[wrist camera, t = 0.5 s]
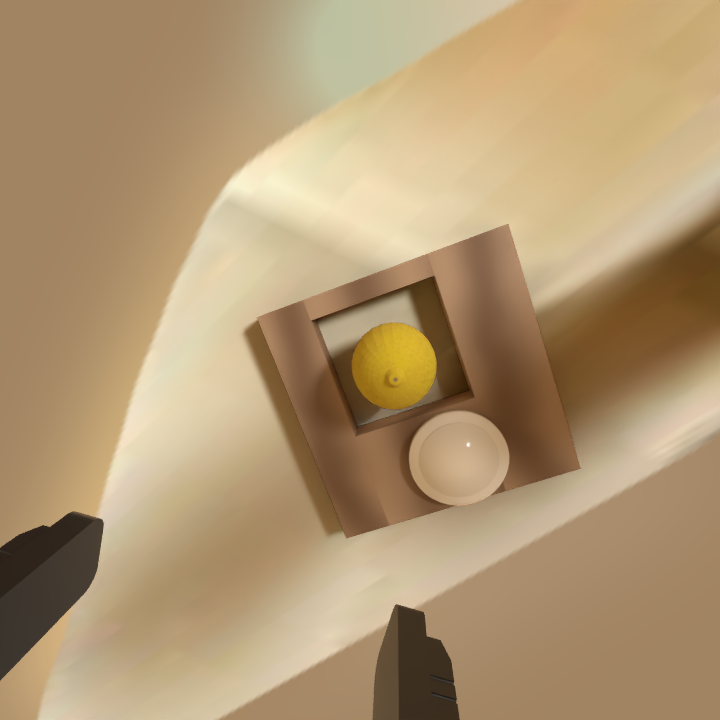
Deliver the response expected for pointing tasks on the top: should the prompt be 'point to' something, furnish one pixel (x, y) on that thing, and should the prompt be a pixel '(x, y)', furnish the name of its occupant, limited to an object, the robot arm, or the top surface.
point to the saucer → (458, 457)
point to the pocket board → (485, 396)
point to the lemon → (394, 365)
